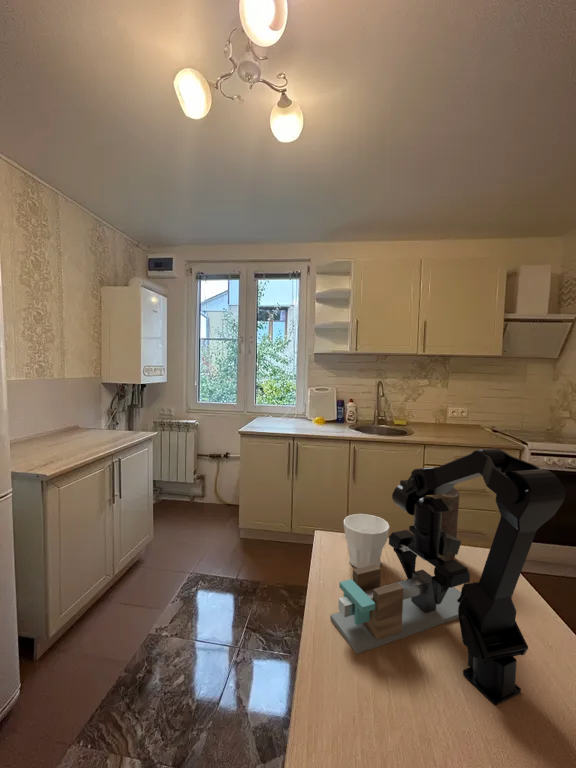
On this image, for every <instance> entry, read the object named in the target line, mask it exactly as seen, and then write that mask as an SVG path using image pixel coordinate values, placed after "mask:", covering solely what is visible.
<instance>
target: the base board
mask: <svg viewBox="0 0 576 768" xmlns="http://www.w3.org/2000/svg"><path fill="white" fill-rule="evenodd" d="M460 596H461V590H459V588H456V586H455V587H452V588H450V587H449V589H448V590H447V592H446V594H445V596H444V598H443V600H442V602H441V604H438V605H437V604H436V610H435V611H432V612H428V613H424V612H423V611H422V610H421V609H420V608H419V607H418V606H416V605H415V604H414V603H413V602H412V601H411V598H408V599H404V600H403V610H402V632H399V633H396V634H393V635H390V636H388V637H385V638H382V639H379V640H377V639H376V638H375V637H374V636H373V635H372V634H371V632H370V631H369V630H368V629H367V628H366V626H365V625H364V624H363V623H362V624H359V625H356V624H355V623H354V618H355V615H351V616H348V617H344V616H343V615H342V614H341V613H340V611H339V612H335V613H331V614H330V616H329V617H330V621H331V622H332V624H333V625H334V626H335V628H336V629H337V630H338V631H339V632H340V634H341V636H342V637H343V638H344V640H346V642H347V643H348V644H349V646H350V647H351V648H352V650H353V651H354V653H355V654H356V655H358V654H362V653H363V652H367V651H369V650H373V649H375V648H378V647H381V646H384V645H387V644H389V643H392V642H394V641H398V640H401V639H404V638H407V637H409V636H412V635H415V634H418V633H421V632H425V631H427V630H429V629H432V628H434V627H437V626H440V625H443V624H446V623H448V622H449V623H450V622H451V621H454V620H459V616H458V607H459V604H460V603H459V602H458V601H457V599H459V598H460Z"/></svg>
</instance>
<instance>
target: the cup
mask: <svg viewBox="0 0 576 768" xmlns="http://www.w3.org/2000/svg"><path fill="white" fill-rule="evenodd" d="M343 529H344V530H343V531H344V538H345V539H346V543H347V548H348V555H349V563H350V564H351V565H352V566H353V567H354V568H355V569H358V568H362V567H366V566H370V565H374V564H376V565H377V566H379V567H380V568H381V556H382V552H383V549H384V547H385V546H386V544H387V542H388V539H389V534H390V533H389V532H390V524H389V522H388V521H387V520H385V519H384V518H381V517H379V516H378V515H372V514H365V513H356V514H355V513H354V514H350V515H347V516H345V518H344V519H343Z"/></svg>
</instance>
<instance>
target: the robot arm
mask: <svg viewBox="0 0 576 768" xmlns="http://www.w3.org/2000/svg"><path fill="white" fill-rule="evenodd" d="M479 477H482V478H483V481H484V483H485V486H486V487H487V488H488V489H489V490H490V491H492V492H494V494H496V495H495V503H496V505H497V508H498V510H499V514H500V517H499V518H500V519H499V521H498V525H497V528H496V531H495V534H494V537H493V540H492V542H491V546H490V549H489V552H488V555H487V558H486V560H485V564H484V567H483V570H482V573H481V576H480V578H479V581H475V582H471V579H470V577H471V571H470V569H468V567H466V566H464V565H463V564H461V563H460V562H459V561H457V560H455V558H454V559H453V560H449V561H444V560H442V559H441V558H439V557H440V555H442V556H445V555H447V552H450V553H454V554H455V556H457V555H458V554H459V550H460V546H461V545H462V540H461V539H459V538H458V537H457V538H455V537H453V536H452V535H450V534H448V533H446V532H445V531H443V528H442V527H441V522H442V512H448V511H449V508H448V507H447V505H446V504H445V503H444V502H443V500H442V499H435V498H433V497H432V495H439V494H446V493H447V492H449V491H450V490H452V489H453V488H454V487H455V486H456V485H457V484H459V483H463V482H467V481H470V480H472V479H476V478H479ZM399 481H400V483H399V484H398V485H397V486H396V487H395V488H394V490H393V492H392V494H391V496H392V497H391V499H392V501H393V503H394V504H395V505H396V506H397V507H399V508H401V509H402V510H403V511H405V512H406V514H408V515H411V516H413V525H409V526H408V527H409V528H408V529H403V530H399V531H393V532H391V534H390V535H388V545H389V546H390V547H392V549H393V552H394V553H395V554H396V556H397V558H398V561H399V562H400V564H401V567H402V569H403V571H404V573H405V576H406V579H411V578H412V572H415V571H416V565H417V563H416V562H417V557H419V558H420V559H422V560H423V561H426V562H427V563H429V564H431V565H432V566H434V568H433V575H431V576H432V577H431V580H432V586H433V593H434V599H435V602H436V604H437V605H438V604H441V602H442V600H443V598H444V596H445V594H446V592H447V590H448V589H449V587H450V588H452V587H455V588H456V587H457V586H461V585H462V587H461V590H460V592H461V596H460V598H459V599H457V601H458V602H459V603H460V604H459V607H458V616H459V618H458V620H459V628H460V634H461V638H462V644H463V645H464V646H465V647H466V649H467V653H468V655H467V666H468V668H465V669H463V670H462V675H463V676H464V677H465V678H466V679H467V680H468V681H469V682H470V683H471V684H472V685H473V686H474V687H475V688H476V689H477V690H478V691H479V692H481V694H482V695H484V696H485V697H486V698H487V700H489V701H490V702H491V703H492V704H493V705H495V706H496V705H497V706H498V705H500V704H501V703H504V702H506V701H507V700H509V699H511V698H514V697H515V696H518V695H519V694H521V692H522V689H521V687H520V686H519V685H518V684H517V683H516V676H517V675H516V674H517V660H518V659H516V658H515V657H518V656H525V654H526V653H527V652H528V649H529V646H528V644H527V641H526V639H525V638H524V636H523V633H522V631H521V629H520V627H519V625H518V623H517V621H516V617H517V610H516V606H515V603H514V601H513V599H512V597H513V594H514V591H515V589H516V587H517V584H518V581H519V578H520V576H521V573H522V570H523V568H524V565H525V562H526V560H527V557H528V555H529V553H530V549H531V546H532V544H533V541H534V539H535V536H536V534H537V531H538V529H540V528H541V527H542V526H543V525H544V524H545V523H547V522H548V521H549V520H551V518H553V517H554V516H555V515H556V513H557V512H558V511H559V509H560V508H561V506H562V505H563V503H564V502H565V500H566V494H567V493H566V488H565V487H564V486H563V485H562V484H563V483H562V481H561V480H560V479H559V478H558V476H557V475H556V474H555V473H553V472H552V471H549V470H547V469H544V468H543V469H542V468H540V467H538V466H537V465H535V464H533V463H531V462H528V461H525V460H522V459H521V458H518V457H514V456H512V455H510V454H509V453H507V452H506V451H504V450H502V449H499V448H480V449H475V450H474V451H473V452H471V453H470V454H467V455H464V456H462V457H459V458H456V459H455V460H452V461H449V462H447V463H444V464H442V465H439V466H434V467H421V468H413V470H412V471H411V472H410V475H409V478H408V479H402V480H401V479H400V480H399Z"/></svg>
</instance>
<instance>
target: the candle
mask: <svg viewBox="0 0 576 768" xmlns="http://www.w3.org/2000/svg"><path fill="white" fill-rule="evenodd" d="M460 494H461V493H460V492H459V490H458V489H456V488H453V489H452V490H450V491H449V492H447V493H446V494H439V495H431V497H433V498H435V499H442V500H443V502H444V503H445V504H446V505H447V507H448V508H449V511H448V512H442V522H441V527H442V528H443V531H445V532H446V533H448V534H450V535H452V536H453V537H455V538H457V539H458V537H457V536H458V522H459V519H458V518H459V509H460V508H459V507H460V506H459V505H460ZM439 558H441V559H442V560H444V561H449V560H453V559H454V560H455V558H456V555H455V554H454V553H450V552H447V555H445V556H442V555H440V557H439Z"/></svg>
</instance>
